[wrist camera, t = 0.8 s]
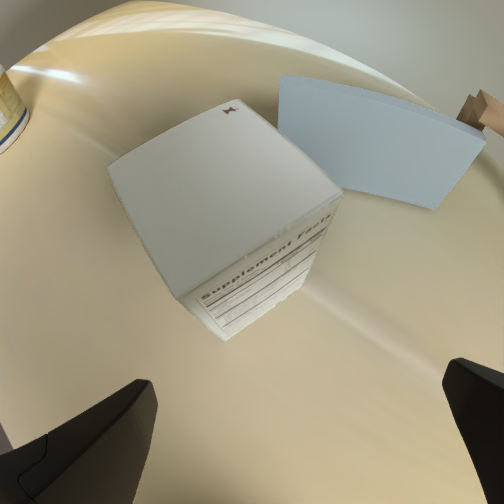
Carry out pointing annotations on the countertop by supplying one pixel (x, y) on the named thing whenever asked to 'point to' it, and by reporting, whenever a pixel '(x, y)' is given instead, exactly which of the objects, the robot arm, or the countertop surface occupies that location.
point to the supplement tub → (10, 112)
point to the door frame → (483, 113)
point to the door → (377, 140)
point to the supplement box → (226, 213)
